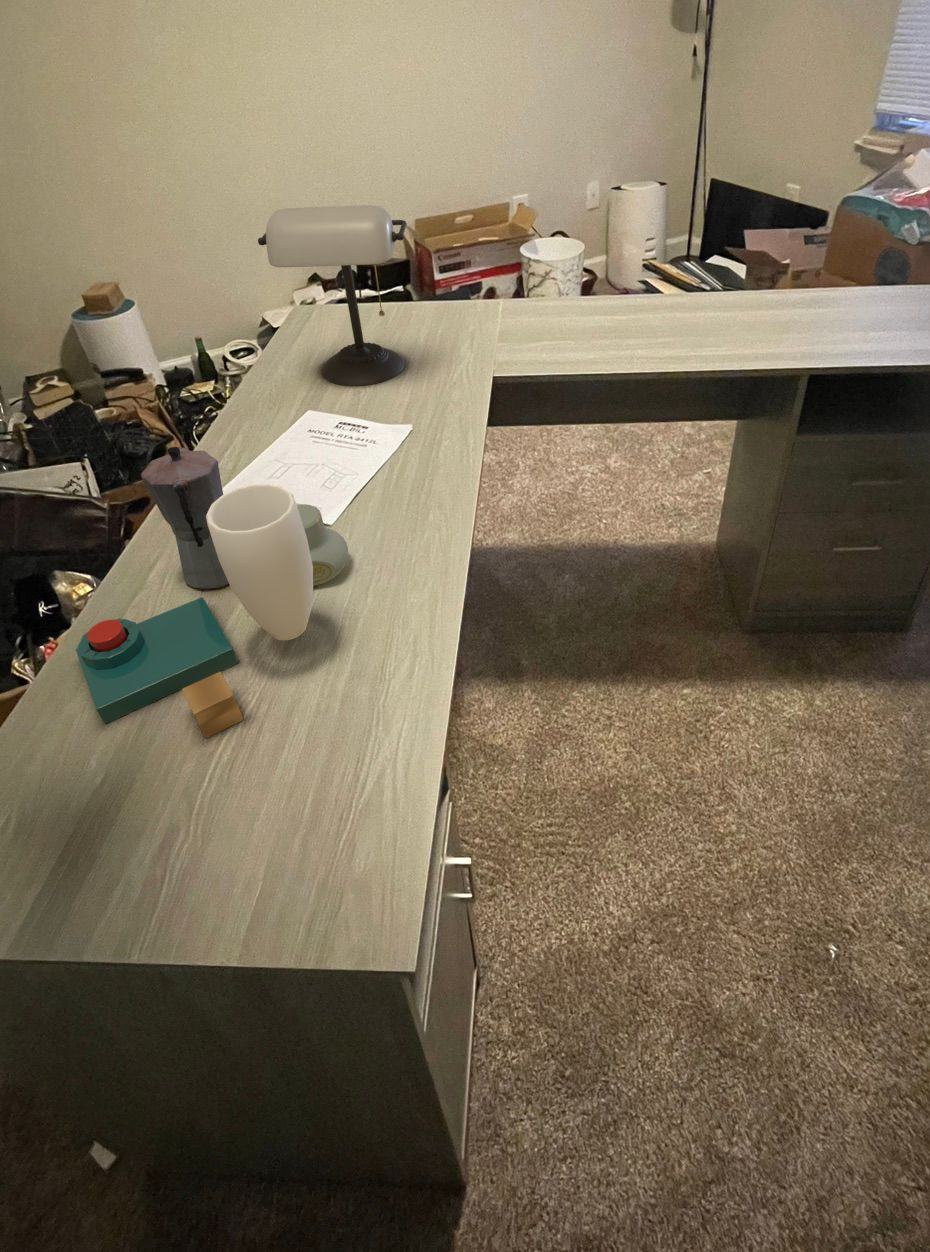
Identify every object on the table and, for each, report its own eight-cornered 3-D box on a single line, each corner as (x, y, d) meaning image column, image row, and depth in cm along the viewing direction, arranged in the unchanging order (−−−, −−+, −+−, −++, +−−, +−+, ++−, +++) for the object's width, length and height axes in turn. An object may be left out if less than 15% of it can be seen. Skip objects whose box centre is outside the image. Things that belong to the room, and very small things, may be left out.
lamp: (286, 402, 146) (241, 221, 125) (310, 351, 165) (274, 186, 143) (418, 398, 146) (396, 216, 124) (427, 347, 165) (409, 181, 143)
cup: (250, 680, 90) (197, 542, 76) (254, 623, 98) (205, 488, 84) (336, 665, 92) (298, 527, 78) (332, 609, 100) (298, 475, 86)
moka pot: (241, 534, 113) (203, 418, 100) (262, 593, 103) (221, 472, 90) (177, 552, 110) (128, 435, 97) (191, 615, 99) (138, 493, 87)
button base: (105, 724, 86) (89, 699, 83) (83, 661, 94) (68, 636, 91) (238, 663, 92) (228, 638, 90) (207, 609, 100) (197, 584, 97)
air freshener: (350, 548, 110) (338, 493, 103) (352, 584, 103) (340, 527, 97) (275, 559, 108) (258, 504, 102) (273, 596, 102) (255, 539, 96)
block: (205, 739, 84) (193, 714, 81) (193, 713, 86) (181, 688, 84) (243, 720, 86) (233, 695, 83) (231, 696, 88) (220, 671, 85)
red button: (96, 657, 88) (90, 647, 87) (89, 638, 91) (83, 628, 90) (130, 643, 90) (125, 633, 89) (123, 625, 93) (117, 615, 91)
